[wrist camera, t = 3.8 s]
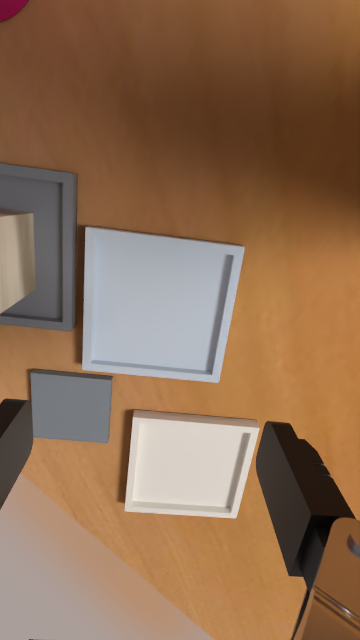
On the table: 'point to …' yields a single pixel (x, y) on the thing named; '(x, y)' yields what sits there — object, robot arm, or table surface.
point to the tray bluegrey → (157, 303)
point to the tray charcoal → (45, 244)
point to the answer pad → (71, 405)
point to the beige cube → (16, 257)
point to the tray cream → (188, 463)
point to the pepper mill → (10, 8)
